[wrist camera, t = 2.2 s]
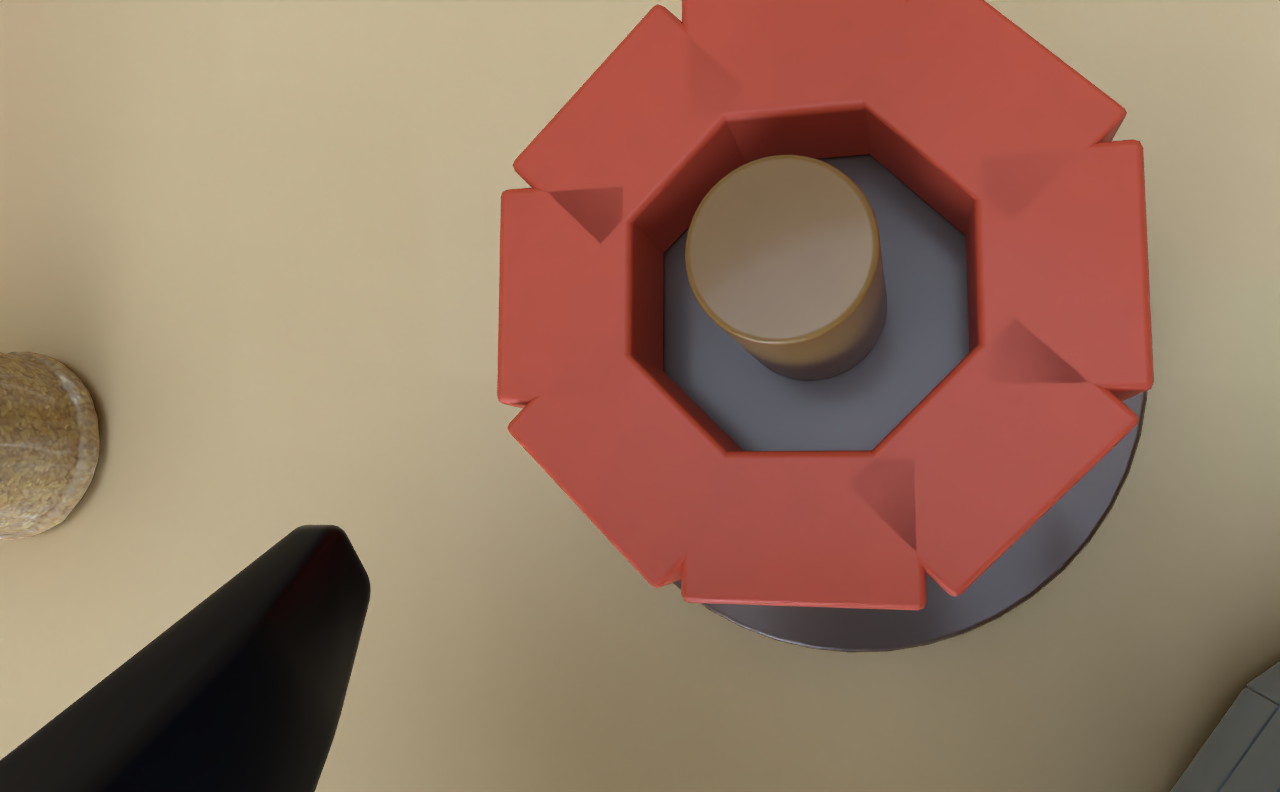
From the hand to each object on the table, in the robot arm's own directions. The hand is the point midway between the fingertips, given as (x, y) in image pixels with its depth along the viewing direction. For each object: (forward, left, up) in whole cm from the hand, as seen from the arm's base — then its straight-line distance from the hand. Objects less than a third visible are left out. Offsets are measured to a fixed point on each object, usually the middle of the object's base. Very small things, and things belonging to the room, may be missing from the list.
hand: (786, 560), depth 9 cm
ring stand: (+2, -2, -10) cm, 11 cm away
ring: (+2, -2, -3) cm, 4 cm away
